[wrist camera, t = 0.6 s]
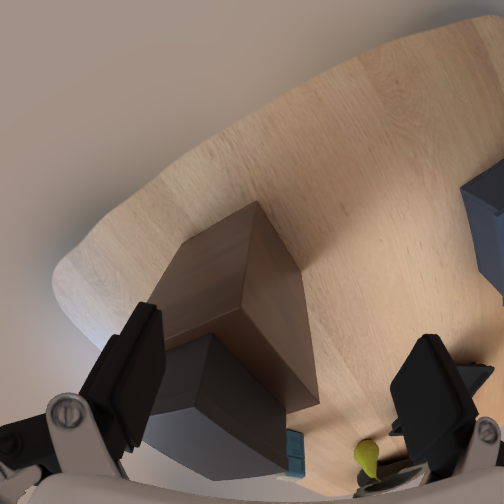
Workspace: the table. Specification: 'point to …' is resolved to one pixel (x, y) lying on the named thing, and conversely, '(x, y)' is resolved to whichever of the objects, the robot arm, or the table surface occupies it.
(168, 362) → the dark grey rectangular block
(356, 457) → the fruit
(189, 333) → the stand
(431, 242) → the table surface
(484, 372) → the tray
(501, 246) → the box lid
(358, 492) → the stone bowl
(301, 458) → the toy kitchen set
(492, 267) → the storage box
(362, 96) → the table surface
